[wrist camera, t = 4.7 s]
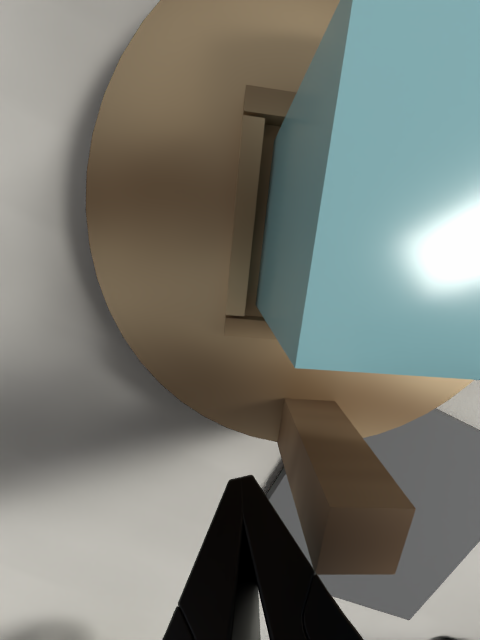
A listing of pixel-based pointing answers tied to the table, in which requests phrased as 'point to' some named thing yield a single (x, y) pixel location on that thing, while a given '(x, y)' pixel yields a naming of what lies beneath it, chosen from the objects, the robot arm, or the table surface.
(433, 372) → the blue cube with post
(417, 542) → the mat
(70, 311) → the table surface
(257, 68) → the turntable
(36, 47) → the table surface
